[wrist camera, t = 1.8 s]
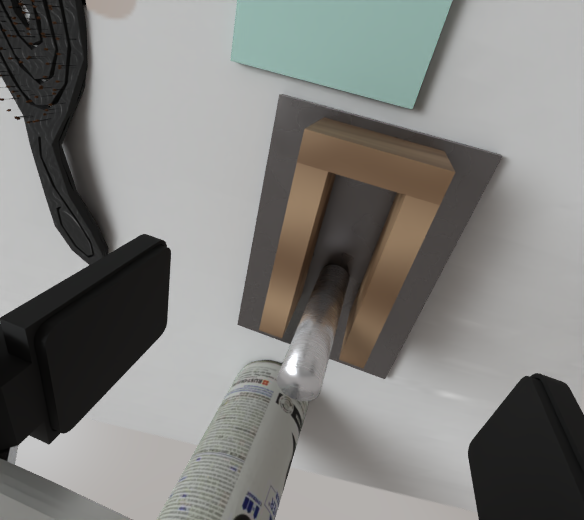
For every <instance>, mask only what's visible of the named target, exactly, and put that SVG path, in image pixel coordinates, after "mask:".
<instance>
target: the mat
mask: <svg viewBox="0 0 584 520" xmlns="http://www.w3.org/2000/svg"><path fill="white" fill-rule="evenodd" d="M452 1H453V0H237V8H236V17H235V26H234V35H233V44H232V53H231V61H234V62H238V63H241V64H245V65H249V66H253V67H256V68H260V69H264V70H267V71H271V72H275V73H279V74H282V75H286V76H290V77H293V78H297V79H301V80H305V81H308V82H312V83H316V84H319V85H323V86H327V87H331V88H334V89H338V90H342V91H346V92H349V93H353V94H357V95H360V96H364V97H368V98H372V99H375V100H379V101H383V102H386V103H390V104H394V105H398V106H401V107H405V108H409V109H413V106H414V104H415V101H416V98H417V96H418V93H419V90H420V87H421V85H422V82H423V79H424V77H425V74H426V71H427V68H428V66H429V63H430V60H431V58H432V55H433V52H434V50H435V47H436V44H437V41H438V39H439V36H440V33H441V31H442V28H443V25H444V22H445V20H446V17H447V14H448V12H449V9H450V6H451V3H452Z"/></svg>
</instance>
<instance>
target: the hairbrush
mask: <svg viewBox="0 0 584 520" xmlns="http://www.w3.org/2000/svg"><path fill="white" fill-rule="evenodd" d="M22 1H23V3H24V4H22V3H19V1H18V3H17V0H0V74H1V75H0V76H2V78H3V80H4V82H5V84H6V85H7V86H6V87H7V88H8V89H9V91H10V92H11V94H12V96H13V98H11V99H14V100H15V101H16V103H17V105H18V107H19V109H20V110H21V112H22V114H23V116H21V117H24V120H25V124H26V129H27V133H28V138H29V142H30V146H31V150H32V153H33V156H34V160H35V163H36V166H37V170H38V173H39V177H40V180H41V183H42V187H43V190H44V193H45V196H46V199H47V203H48V206H49V209H50V212H51V215H52V218H53V221H54V224H55V226H56V228H57V229H58V231H59V232H60V234H61V235H62V236H63V238H64V239H65V241H66V242H67V244H68V245H69V246H70V248H71V249H72V250H73V251H74V252H75V253H76V254H77V255H78V256H80V257H81V258H82V259H83V260H84V261H86V262H87V263H88V264H89V265H91V264H93V263H94V262H96V261H98V260H99V259H101V258H103V257H104V256H105V252H106V255H108V247H107V245H106V242H105V240H104V238H103V236H102V234H101V232H100V230H99V228H98V226H97V224H96V223H95V221H94V219H93V217H92V216H91V214H90V212H89V211H88V209H87V207H86V206H85V204H84V202H83V201H82V199H81V197H80V196H79V194H78V192H77V190H76V187H75V184H74V181H73V178H72V175H71V172H70V169H69V166H68V163H67V160H66V157H65V154H64V151H63V148H62V142H63V139H64V137H65V134H66V132H67V129H68V126H69V124H70V121H71V118H72V116H73V114H74V111H75V109H76V107H77V105H78V103H79V100H80V98H81V96H82V93H83V91H82V93H81V95H80V97H79V94H80V90H81V87H82V84H83V81H84V86H83V90H84V88H85V80H84V78H86V71H87V32H86V21H85V15H84V9H83V6H84V7H86V8H87V6H86V0H22ZM18 4H19V5H20V6H22V5H25V6H26V8H25V9H28V11H29V13H30V21H29V24H28V22H27V20H26V19H29V18H25V16H24V14H25V13H28V12H24V11H22V10H21V8H20V7H19V5H18ZM33 45H38V46H37V47H35V46H33ZM53 75H54V76H53ZM39 79H49V80H47V81H46V82H43V81H40V80H39ZM0 88H2V87H0ZM0 100H1V101H3V100H4V99H1V98H0ZM54 104H55V105H54ZM47 105H49V106H51V107H48V106H47ZM52 105H53V106H52ZM7 111H11V109H8V110H7ZM15 119H17V120H19V119H20V118H19V117H17V116H16V117H15ZM93 254H94V255H93Z"/></svg>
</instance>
